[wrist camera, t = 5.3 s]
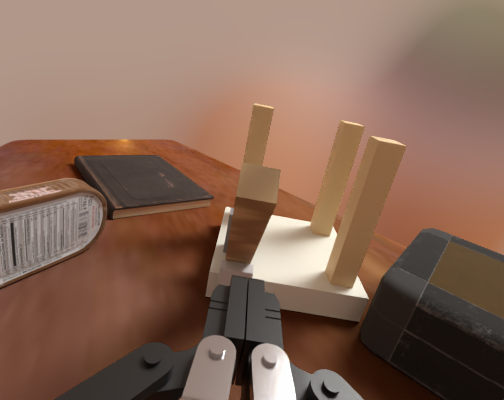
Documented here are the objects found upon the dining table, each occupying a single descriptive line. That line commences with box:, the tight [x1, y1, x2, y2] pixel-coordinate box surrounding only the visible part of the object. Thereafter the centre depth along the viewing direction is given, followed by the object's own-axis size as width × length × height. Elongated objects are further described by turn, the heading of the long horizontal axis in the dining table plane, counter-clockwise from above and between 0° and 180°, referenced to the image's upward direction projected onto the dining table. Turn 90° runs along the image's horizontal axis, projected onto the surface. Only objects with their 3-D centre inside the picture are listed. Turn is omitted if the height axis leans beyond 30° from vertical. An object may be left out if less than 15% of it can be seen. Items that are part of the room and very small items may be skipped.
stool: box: [205, 103, 406, 322], centre depth 34 cm, size 16×18×18 cm
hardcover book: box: [74, 155, 214, 220], centre depth 54 cm, size 16×23×2 cm
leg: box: [225, 163, 280, 264], centre depth 25 cm, size 2×2×15 cm
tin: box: [0, 178, 107, 288], centre depth 29 cm, size 15×3×8 cm, turn 153°
